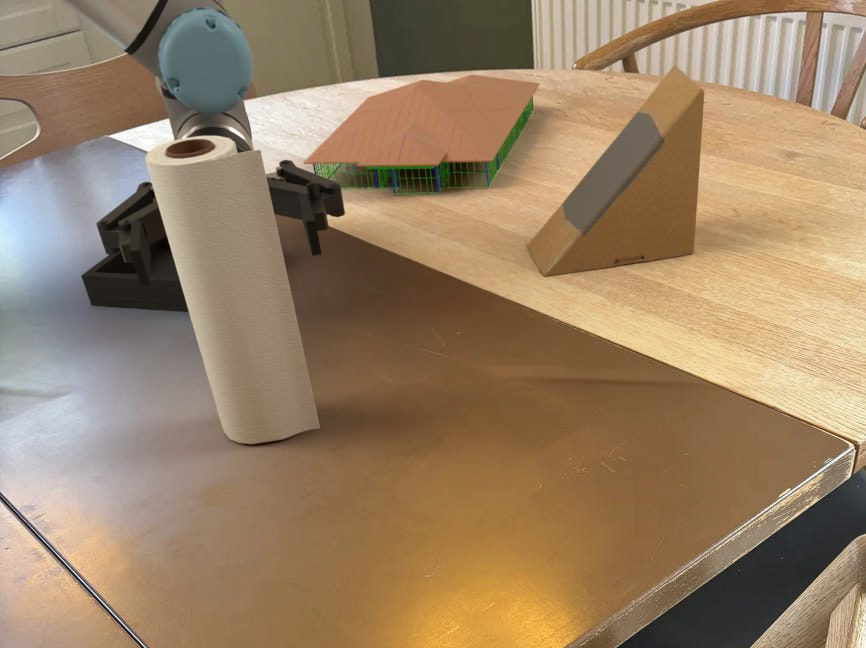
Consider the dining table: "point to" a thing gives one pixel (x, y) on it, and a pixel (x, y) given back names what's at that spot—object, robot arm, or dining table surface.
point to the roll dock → (136, 282)
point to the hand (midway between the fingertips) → (227, 253)
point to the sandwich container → (634, 190)
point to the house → (430, 129)
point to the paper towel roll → (235, 285)
